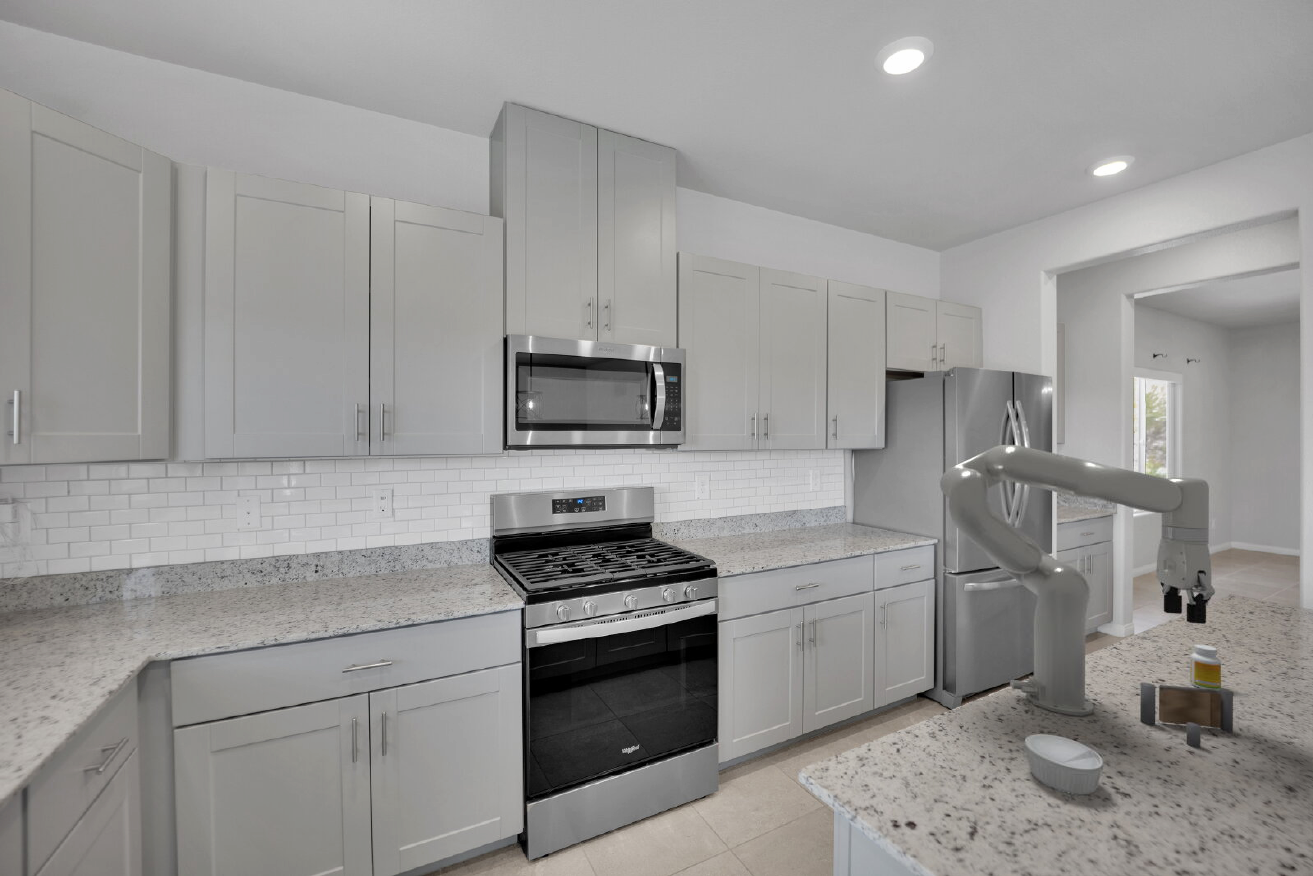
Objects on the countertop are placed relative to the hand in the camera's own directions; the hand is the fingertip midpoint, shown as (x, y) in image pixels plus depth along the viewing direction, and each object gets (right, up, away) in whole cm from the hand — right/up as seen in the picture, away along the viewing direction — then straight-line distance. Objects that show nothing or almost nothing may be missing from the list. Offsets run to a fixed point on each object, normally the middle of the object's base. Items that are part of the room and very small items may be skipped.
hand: (1184, 617), depth 124 cm
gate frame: (-10, -21, -7) cm, 25 cm away
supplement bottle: (+20, -22, +16) cm, 34 cm away
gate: (-3, -21, -4) cm, 22 cm away
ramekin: (-43, -21, -24) cm, 54 cm away
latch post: (+4, -22, -5) cm, 23 cm away
